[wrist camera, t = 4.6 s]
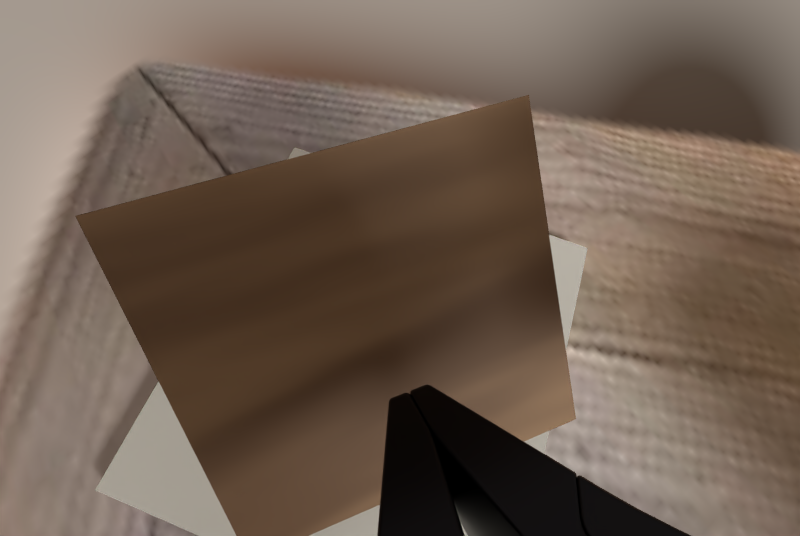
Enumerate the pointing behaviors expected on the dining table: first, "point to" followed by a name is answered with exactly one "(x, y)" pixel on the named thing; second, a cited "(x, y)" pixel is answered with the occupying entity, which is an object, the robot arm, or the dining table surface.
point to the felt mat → (184, 476)
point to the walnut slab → (343, 307)
